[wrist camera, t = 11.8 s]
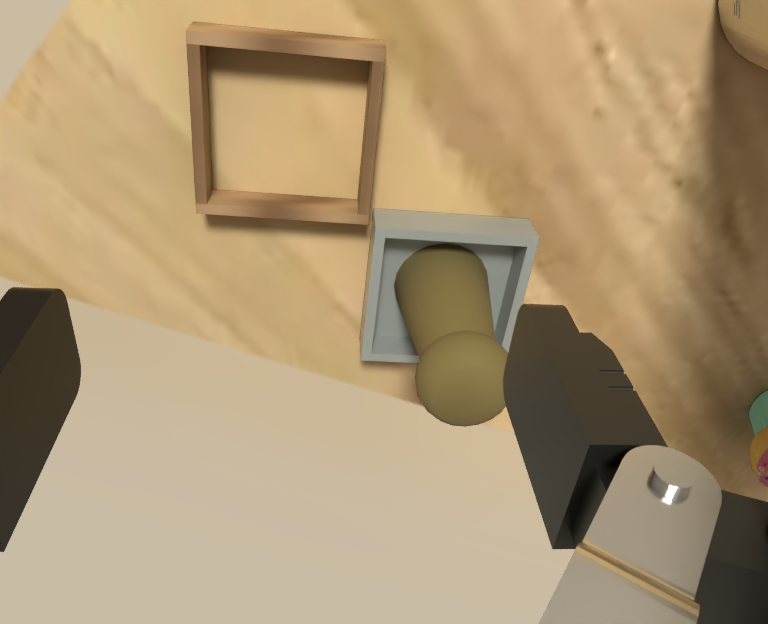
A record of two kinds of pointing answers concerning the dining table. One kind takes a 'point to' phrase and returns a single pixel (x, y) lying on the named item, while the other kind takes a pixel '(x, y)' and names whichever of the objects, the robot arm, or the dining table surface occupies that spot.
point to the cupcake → (760, 437)
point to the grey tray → (420, 229)
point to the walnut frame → (294, 44)
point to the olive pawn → (452, 334)
